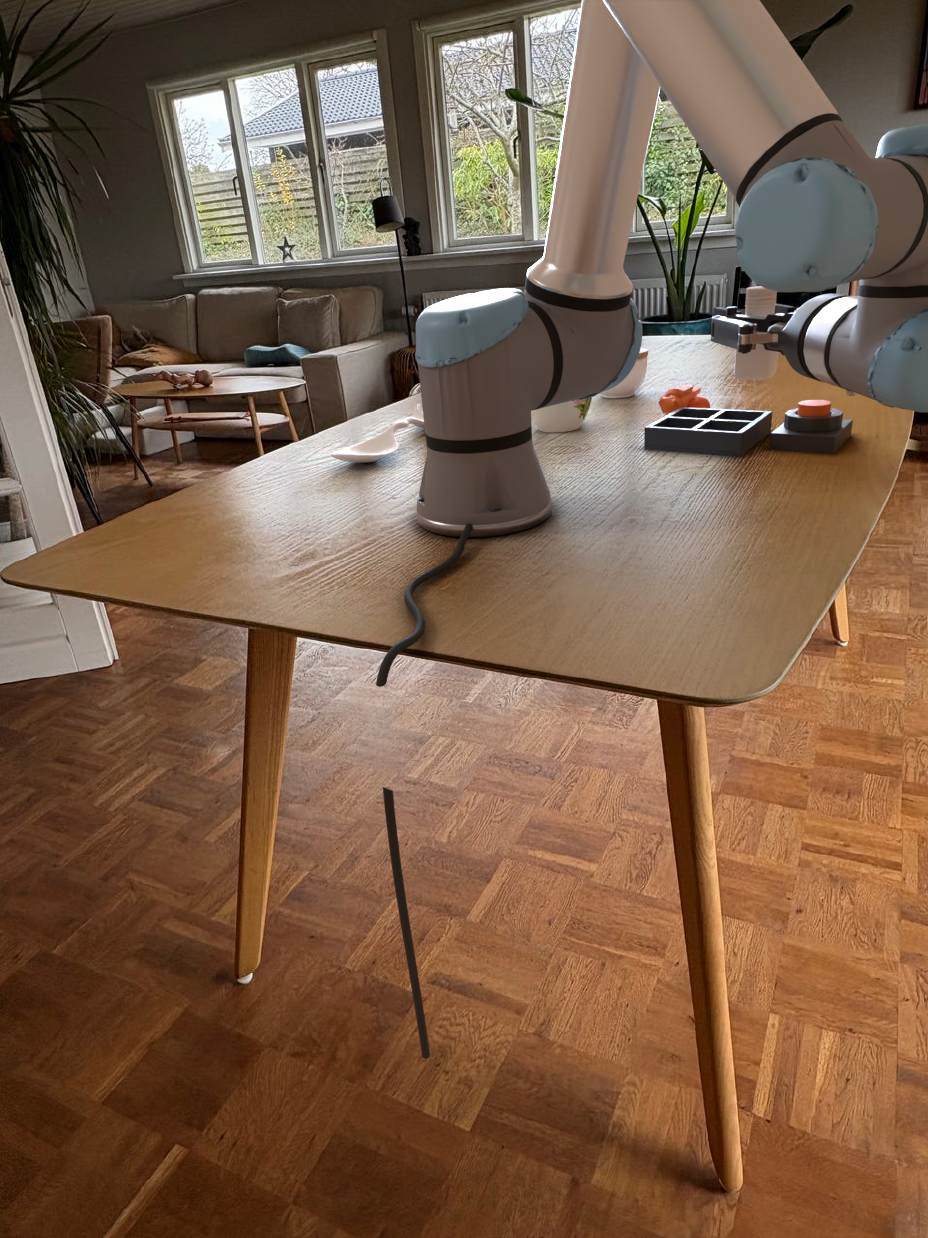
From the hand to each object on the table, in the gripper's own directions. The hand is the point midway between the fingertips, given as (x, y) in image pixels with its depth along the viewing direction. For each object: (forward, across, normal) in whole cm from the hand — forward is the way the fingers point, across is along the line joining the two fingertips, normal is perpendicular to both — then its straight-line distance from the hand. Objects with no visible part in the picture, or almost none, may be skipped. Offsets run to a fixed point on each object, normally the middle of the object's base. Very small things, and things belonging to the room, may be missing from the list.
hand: (740, 317), depth 93 cm
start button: (+8, +14, -14) cm, 22 cm away
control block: (+8, +14, -18) cm, 24 cm away
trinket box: (+53, -1, -18) cm, 56 cm away
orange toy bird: (+29, +4, -18) cm, 34 cm away
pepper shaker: (-5, 0, -6) cm, 8 cm away
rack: (+14, +2, -18) cm, 23 cm away
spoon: (+31, -41, -18) cm, 55 cm away
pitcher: (+32, -15, -18) cm, 40 cm away
